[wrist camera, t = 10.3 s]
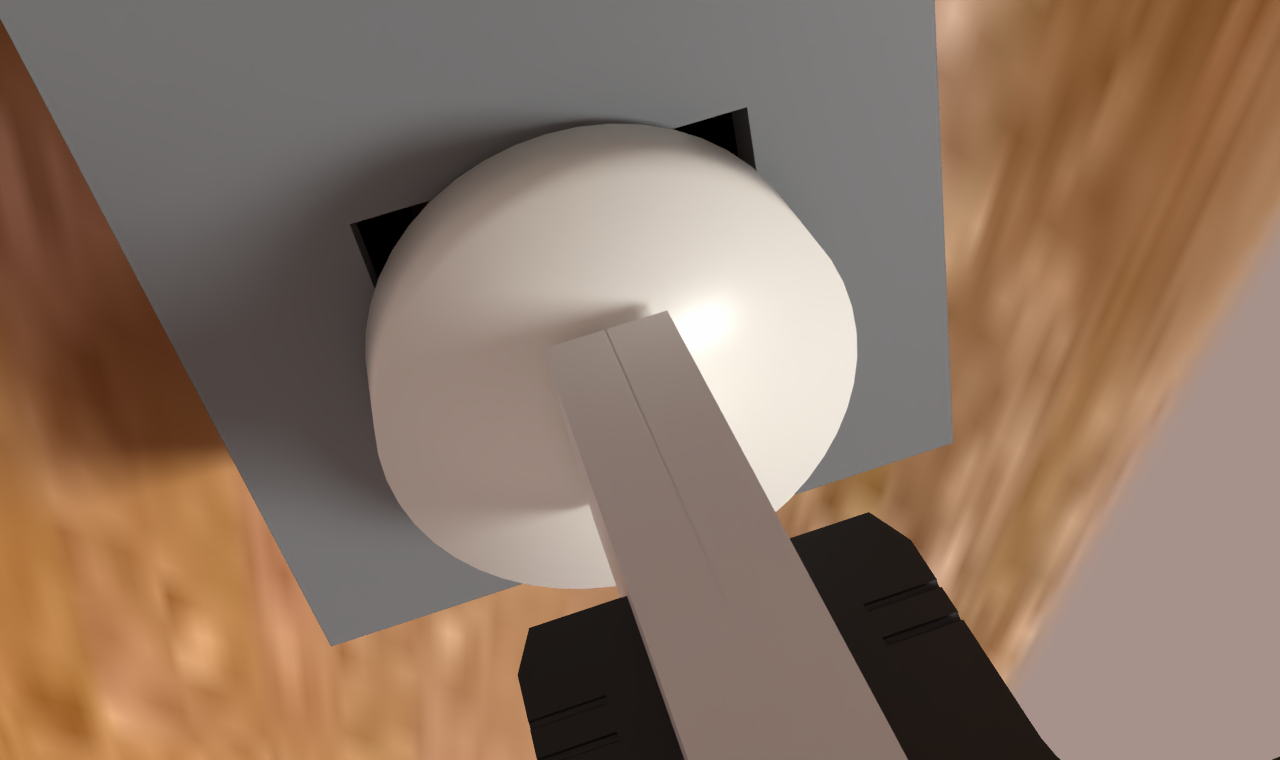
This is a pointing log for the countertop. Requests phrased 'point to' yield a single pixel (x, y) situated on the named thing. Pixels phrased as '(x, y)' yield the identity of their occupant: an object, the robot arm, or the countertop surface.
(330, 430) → the console
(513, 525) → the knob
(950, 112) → the countertop surface
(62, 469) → the countertop surface
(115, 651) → the countertop surface
